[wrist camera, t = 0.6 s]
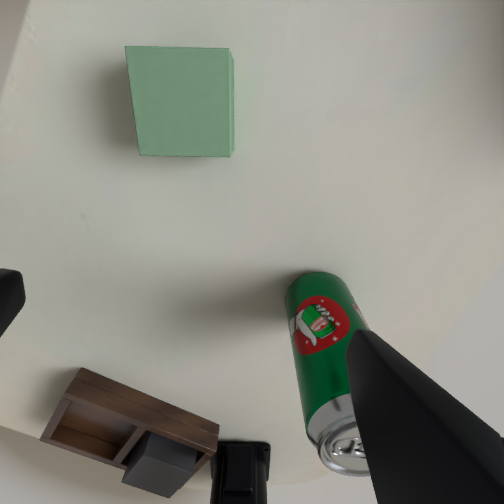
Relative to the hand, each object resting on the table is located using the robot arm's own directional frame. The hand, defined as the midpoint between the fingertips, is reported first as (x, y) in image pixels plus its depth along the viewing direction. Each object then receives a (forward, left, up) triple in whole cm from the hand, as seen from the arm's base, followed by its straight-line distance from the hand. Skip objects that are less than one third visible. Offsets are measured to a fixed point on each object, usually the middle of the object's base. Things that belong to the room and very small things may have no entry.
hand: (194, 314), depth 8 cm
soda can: (-8, -7, -14) cm, 17 cm away
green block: (+5, +2, -14) cm, 15 cm away
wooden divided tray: (-24, +10, -14) cm, 29 cm away
